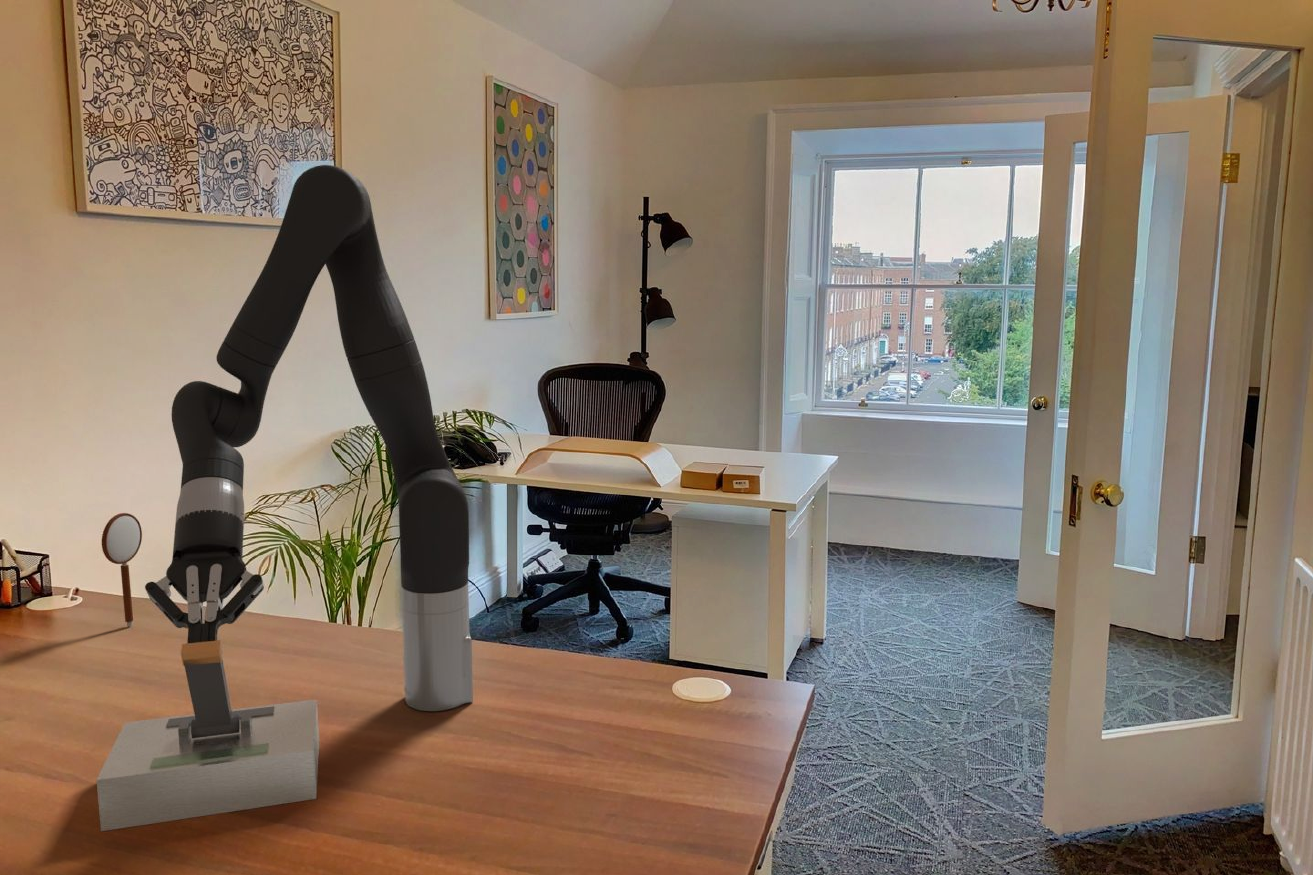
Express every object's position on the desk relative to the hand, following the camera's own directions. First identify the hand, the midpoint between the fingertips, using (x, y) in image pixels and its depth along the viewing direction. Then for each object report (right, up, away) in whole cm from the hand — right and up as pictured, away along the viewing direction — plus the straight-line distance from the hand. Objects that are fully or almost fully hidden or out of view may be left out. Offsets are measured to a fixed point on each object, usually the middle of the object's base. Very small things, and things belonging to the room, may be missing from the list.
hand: (201, 658), depth 104 cm
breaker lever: (-1, -10, +7) cm, 12 cm away
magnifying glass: (-40, -8, +57) cm, 70 cm away
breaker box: (-1, -17, +7) cm, 18 cm away
